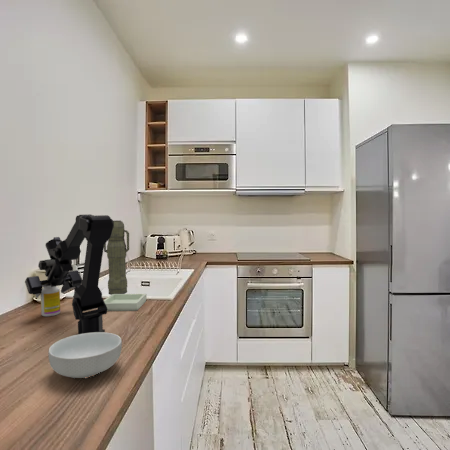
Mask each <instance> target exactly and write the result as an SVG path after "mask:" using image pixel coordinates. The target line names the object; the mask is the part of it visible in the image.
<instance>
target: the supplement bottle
mask: <svg viewBox="0 0 450 450" xmlns="http://www.w3.org/2000/svg"><path fill="white" fill-rule="evenodd" d="M60 289H61V288H59V286H54V287H51V286H47V287H42V291H41V292H42V293H41V294H40V296H39V297H40V314H41V316H43V317H53V316H57V315H60V313H61V296H60V295H61V290H60Z"/></svg>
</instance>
